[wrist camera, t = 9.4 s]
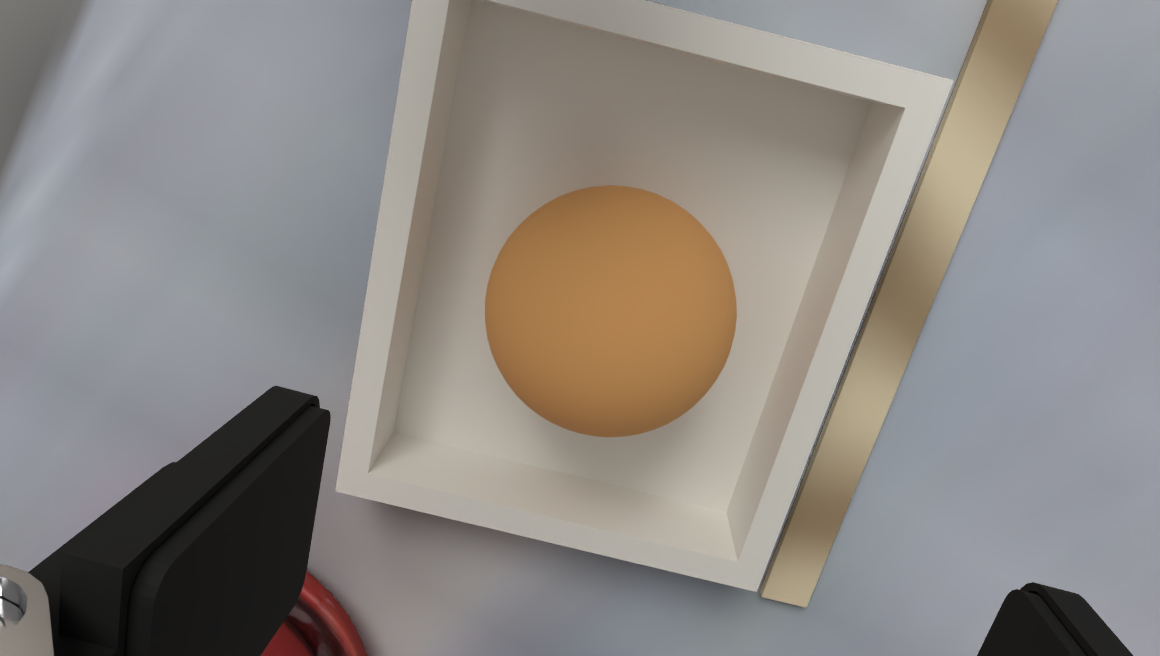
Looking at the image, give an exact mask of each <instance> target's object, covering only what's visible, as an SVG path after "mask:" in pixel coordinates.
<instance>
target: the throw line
mask: <svg viewBox="0 0 1160 656" xmlns="http://www.w3.org/2000/svg"><path fill="white" fill-rule="evenodd" d="M1057 2H1058V0H988V2H987V4H986V7H985V9H984V12H983V15H982V17H981V20H980V22H979V25H978V28H977V30H976V33H975V35H974V38H973V41H972V43H971V46H970V48H969V51H968V53H967V56H966V59H965V61H964V64H963V66H962V69H961V72H960V74H959V77H958V79H957V82H956V85H955V87H954V90H953V92H952V95H951V97H950V100H949V103H948V105H947V108H946V110H945V113H944V116H943V118H942V121H941V123H940V126H939V129H938V131H937V134H936V136H935V139H934V141H933V144H932V147H931V149H930V152H929V154H928V157H927V160H926V162H925V165H924V167H923V170H922V172H921V175H920V178H919V180H918V183H917V185H916V188H915V191H914V193H913V196H912V198H911V201H910V204H909V206H908V209H907V211H906V214H905V216H904V219H903V222H902V224H901V227H900V229H899V232H898V235H897V237H896V240H895V242H894V245H893V248H892V250H891V253H890V255H889V258H888V260H887V263H886V266H885V268H884V271H883V273H882V276H881V279H880V281H879V284H878V286H877V289H876V292H875V294H874V297H873V299H872V302H871V304H870V307H869V310H868V312H867V315H866V317H865V320H864V323H863V325H862V328H861V330H860V333H859V336H858V338H857V341H856V343H855V346H854V348H853V351H852V354H851V356H850V359H849V361H848V364H847V367H846V369H845V372H844V374H843V377H842V380H841V382H840V385H839V387H838V390H837V392H836V395H835V398H834V400H833V403H832V405H831V408H830V411H829V413H828V416H827V418H826V421H825V424H824V426H823V429H822V431H821V434H820V436H819V439H818V442H817V444H816V447H815V449H814V452H813V455H812V457H811V460H810V462H809V465H808V468H807V470H806V473H805V475H804V478H803V480H802V483H801V486H800V488H799V491H798V493H797V496H796V499H795V501H794V504H793V506H792V509H791V512H790V514H789V517H788V519H787V522H786V524H785V527H784V530H783V532H782V535H781V537H780V540H779V543H778V545H777V548H776V550H775V553H774V556H773V558H772V561H771V563H770V566H769V568H768V571H767V574H766V576H765V579H764V581H763V584H762V587H761V589H760V594H761V597H764V598H768V599H772V600H776V601H780V602H785V603H789V604H793V605H797V606H801V607H805V608H806V607H807V605H808V603H809V600H810V598H811V595H812V593H813V591H814V588H815V586H816V583H817V581H818V579H819V576H820V574H821V571H822V569H823V566H824V564H825V562H826V559H827V557H828V554H829V552H830V550H831V547H832V545H833V542H834V540H835V537H836V535H837V533H838V530H839V528H840V525H841V523H842V521H843V518H844V516H845V513H846V511H847V509H848V506H849V504H850V501H851V499H852V496H853V494H854V492H855V489H856V487H857V484H858V482H859V480H860V477H861V475H862V472H863V470H864V467H865V465H866V463H867V460H868V458H869V455H870V453H871V451H872V448H873V446H874V443H875V441H876V439H877V436H878V434H879V431H880V429H881V426H882V424H883V422H884V419H885V417H886V414H887V412H888V410H889V407H890V405H891V402H892V400H893V398H894V395H895V393H896V390H897V388H898V385H899V383H900V381H901V378H902V376H903V373H904V371H905V369H906V366H907V364H908V361H909V359H910V356H911V354H912V352H913V349H914V347H915V344H916V342H917V340H918V337H919V335H920V332H921V330H922V328H923V325H924V323H925V320H926V318H927V315H928V313H929V311H930V308H931V306H932V303H933V301H934V299H935V296H936V294H937V291H938V289H939V286H940V284H941V282H942V279H943V277H944V274H945V272H946V270H947V267H948V265H949V262H950V260H951V258H952V255H953V253H954V250H955V248H956V245H957V243H958V241H959V238H960V236H961V233H962V231H963V229H964V226H965V224H966V221H967V219H968V217H969V214H970V212H971V209H972V207H973V204H974V202H975V200H976V197H977V195H978V192H979V190H980V188H981V185H982V183H983V180H984V178H985V175H986V173H987V171H988V168H989V166H990V163H991V161H992V159H993V156H994V154H995V151H996V149H997V147H998V144H999V142H1000V139H1001V137H1002V134H1003V132H1004V130H1005V127H1006V125H1007V122H1008V120H1009V118H1010V115H1011V113H1012V110H1013V108H1014V105H1015V103H1016V101H1017V98H1018V96H1019V93H1020V91H1021V89H1022V86H1023V84H1024V81H1025V79H1026V77H1027V74H1028V72H1029V69H1030V67H1031V64H1032V62H1033V60H1034V57H1035V55H1036V52H1037V50H1038V48H1039V45H1040V43H1041V40H1042V38H1043V35H1044V33H1045V31H1046V28H1047V26H1048V23H1049V21H1050V19H1051V16H1052V14H1053V11H1054V9H1055V7H1056V4H1057Z"/></svg>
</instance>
